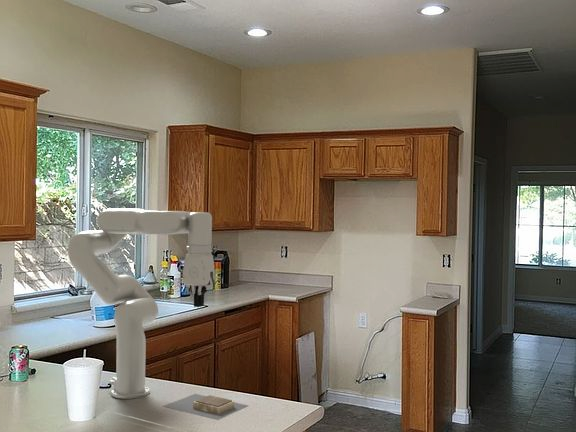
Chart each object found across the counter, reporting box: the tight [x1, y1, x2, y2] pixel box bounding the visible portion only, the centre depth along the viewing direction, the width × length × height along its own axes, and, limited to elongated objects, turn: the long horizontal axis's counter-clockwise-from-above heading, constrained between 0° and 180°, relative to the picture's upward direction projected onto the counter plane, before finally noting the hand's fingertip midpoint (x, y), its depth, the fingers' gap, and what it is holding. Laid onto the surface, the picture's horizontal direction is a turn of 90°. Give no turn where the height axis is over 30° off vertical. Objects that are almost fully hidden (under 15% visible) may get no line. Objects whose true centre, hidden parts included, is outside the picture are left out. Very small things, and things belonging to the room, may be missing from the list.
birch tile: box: [193, 394, 235, 414], centre depth 198 cm, size 2×8×10 cm
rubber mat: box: [162, 393, 249, 421], centre depth 200 cm, size 22×16×1 cm
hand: (198, 306), depth 205 cm, fingers closed
